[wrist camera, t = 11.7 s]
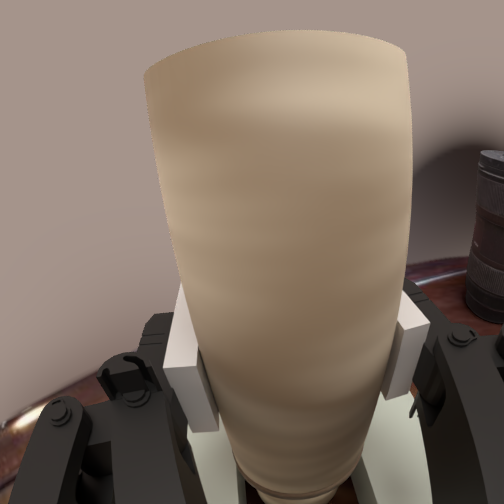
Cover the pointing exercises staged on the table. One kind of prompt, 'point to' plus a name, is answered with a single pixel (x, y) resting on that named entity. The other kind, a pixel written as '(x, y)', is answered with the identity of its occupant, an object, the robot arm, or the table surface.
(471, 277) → the camera lens
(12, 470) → the table surface
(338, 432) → the leg
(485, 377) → the robot arm
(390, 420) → the board
